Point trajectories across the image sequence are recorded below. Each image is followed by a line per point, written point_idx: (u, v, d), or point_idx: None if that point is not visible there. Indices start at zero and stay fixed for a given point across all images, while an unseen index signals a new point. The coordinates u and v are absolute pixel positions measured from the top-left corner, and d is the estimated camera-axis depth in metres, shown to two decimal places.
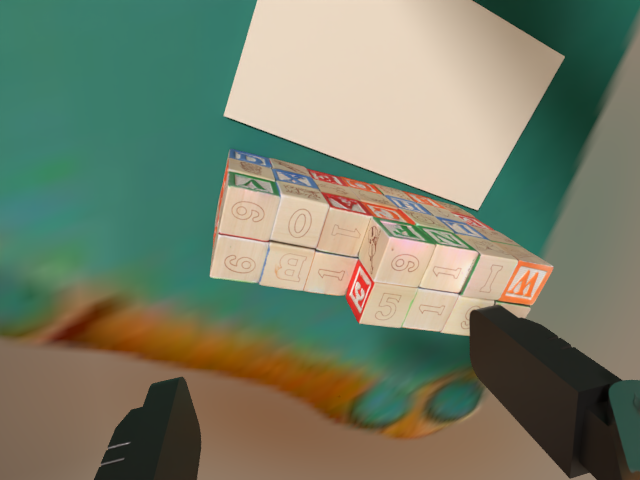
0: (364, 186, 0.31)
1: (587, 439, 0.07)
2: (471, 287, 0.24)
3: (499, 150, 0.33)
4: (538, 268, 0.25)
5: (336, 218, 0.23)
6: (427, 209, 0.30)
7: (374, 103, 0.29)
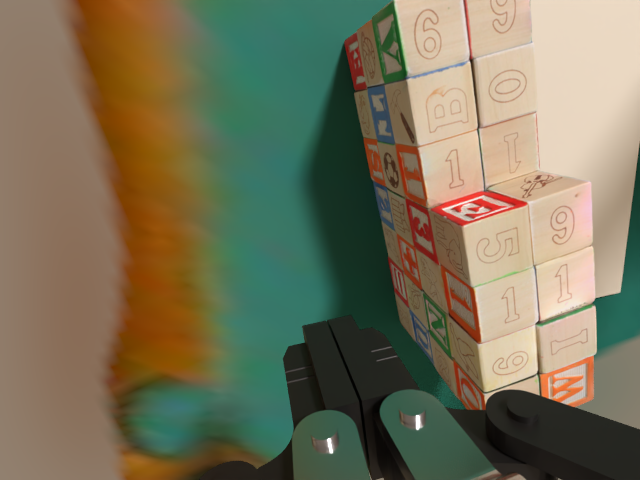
0: None
1: (376, 444, 0.08)
2: (553, 328, 0.18)
3: None
4: (588, 384, 0.20)
5: (525, 129, 0.18)
6: None
7: None
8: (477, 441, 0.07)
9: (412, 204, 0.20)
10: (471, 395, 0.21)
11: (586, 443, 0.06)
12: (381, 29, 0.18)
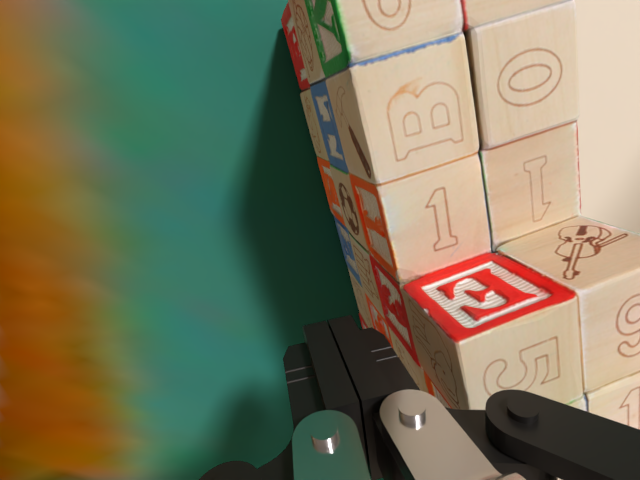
0: None
1: (376, 444, 0.08)
2: None
3: None
4: None
5: (558, 150, 0.11)
6: None
7: None
8: (477, 441, 0.07)
9: (378, 266, 0.13)
10: None
11: (586, 443, 0.06)
12: None
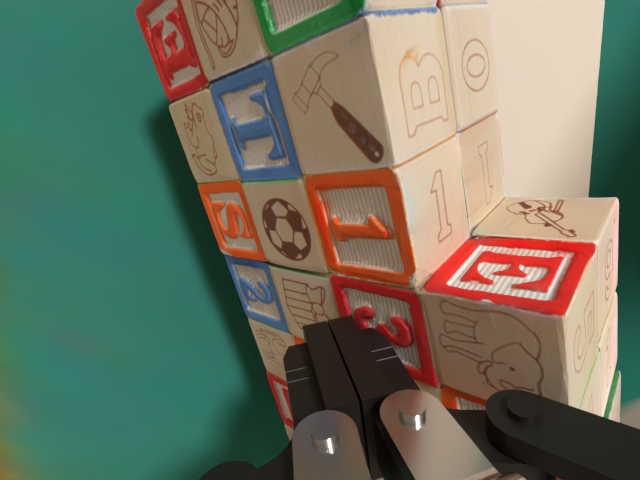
0: None
1: (376, 444, 0.08)
2: None
3: None
4: None
5: (492, 136, 0.12)
6: None
7: None
8: (477, 441, 0.07)
9: (356, 285, 0.11)
10: None
11: (586, 443, 0.06)
12: None
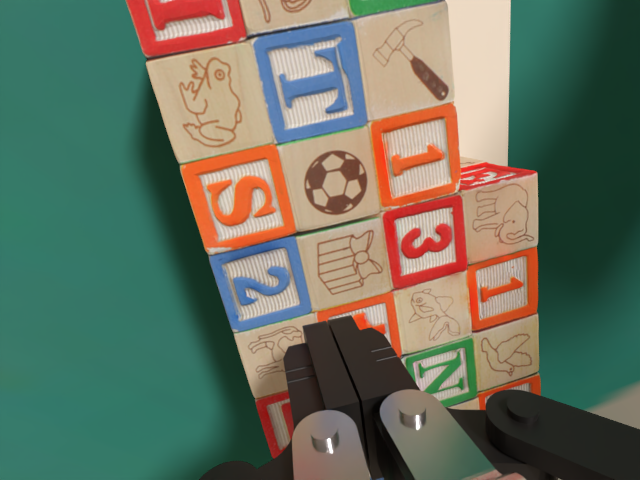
0: None
1: (376, 444, 0.08)
2: None
3: None
4: None
5: None
6: None
7: None
8: (477, 441, 0.07)
9: (410, 210, 0.13)
10: None
11: (586, 443, 0.06)
12: None
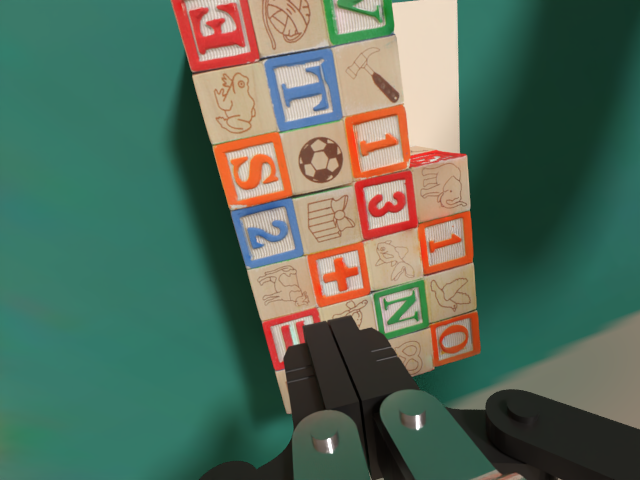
0: None
1: (376, 444, 0.08)
2: None
3: None
4: None
5: None
6: None
7: None
8: (477, 441, 0.07)
9: (374, 181, 0.19)
10: (454, 338, 0.22)
11: (586, 443, 0.06)
12: None
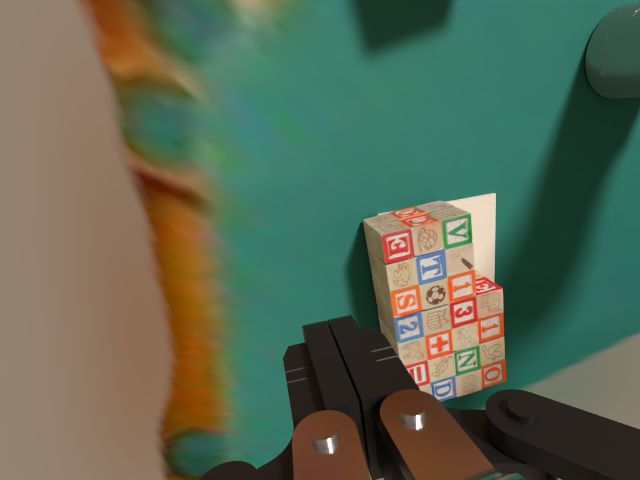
0: None
1: (376, 444, 0.08)
2: None
3: None
4: None
5: None
6: None
7: None
8: (477, 441, 0.07)
9: (458, 302, 0.39)
10: (493, 373, 0.43)
11: (586, 443, 0.06)
12: (450, 224, 0.36)
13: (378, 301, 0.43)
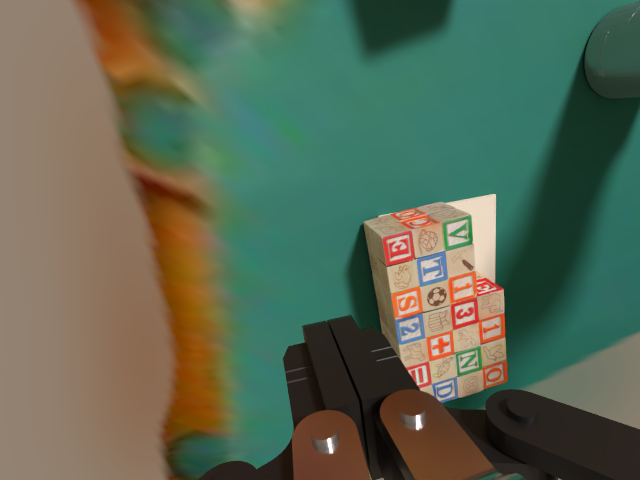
0: None
1: (376, 444, 0.08)
2: None
3: None
4: None
5: None
6: None
7: None
8: (477, 441, 0.07)
9: (459, 303, 0.39)
10: (494, 374, 0.43)
11: (586, 443, 0.06)
12: (450, 226, 0.36)
13: (379, 303, 0.43)
